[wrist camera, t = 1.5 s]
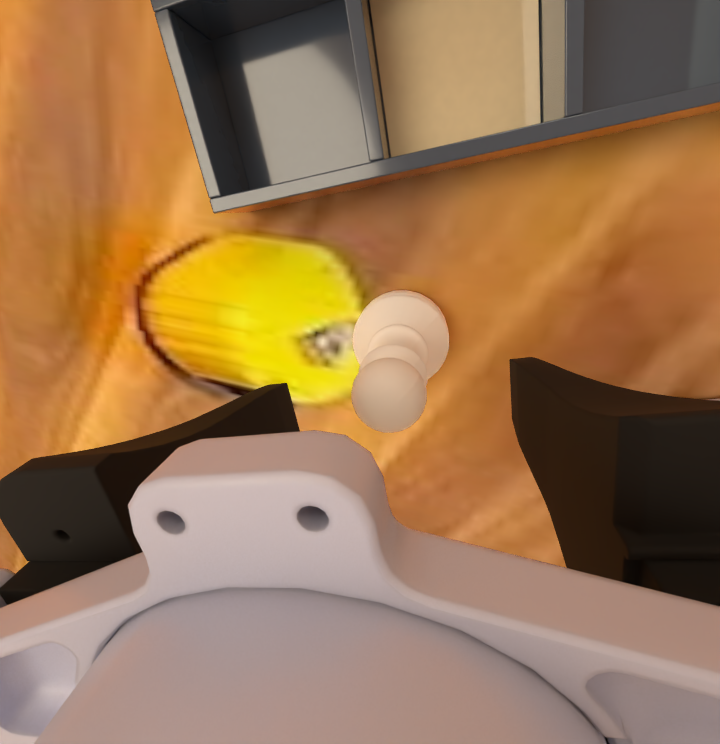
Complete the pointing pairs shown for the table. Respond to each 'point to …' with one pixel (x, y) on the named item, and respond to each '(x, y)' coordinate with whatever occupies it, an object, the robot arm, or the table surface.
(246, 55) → the divided storage box
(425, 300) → the chess pawn
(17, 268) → the table surface
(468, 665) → the robot arm
